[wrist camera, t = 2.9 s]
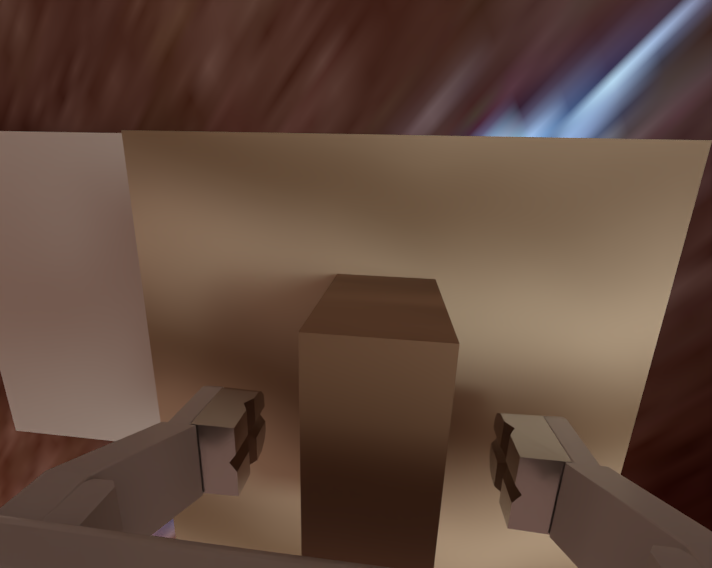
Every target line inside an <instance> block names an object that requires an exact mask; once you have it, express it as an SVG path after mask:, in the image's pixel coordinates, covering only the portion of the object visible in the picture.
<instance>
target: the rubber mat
mask: <svg viewBox="0 0 712 568" xmlns="http://www.w3.org/2000/svg"><path fill="white" fill-rule="evenodd" d="M0 371H1V375H2V379H3V383H4V387H5V391H6V394H7V398H8V402H9V406H10V410H11V413H12V417H13V421H14V425H15V429H16V431H25V432H34V433H44V434H53V435H62V436H71V437H81V438H90V439H99V440H109V441H117V440H120V439H122V438H125V437H127V436H129V435H132V434H134V433H136V432H139V431H141V430H143V429H146V428H148V427H151V426H153V425H155V424H158V423H160V414H159V407H158V400H157V392H156V385H155V377H154V370H153V363H152V355H151V348H150V340H149V333H148V325H147V318H146V311H145V303H144V296H143V288H142V281H141V273H140V266H139V259H138V251H137V244H136V236H135V229H134V222H133V214H132V207H131V199H130V192H129V184H128V177H127V170H126V162H125V155H124V147H123V140H122V133H83V132H23V131H0Z"/></svg>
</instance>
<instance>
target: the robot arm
mask: <svg viewBox="0 0 712 568" xmlns="http://www.w3.org/2000/svg"><path fill="white" fill-rule="evenodd" d="M264 407H265V403H264V394H263V393H262V391H256V390H247V389H238V388H229V387H220V386H203V387H202V388H201V389H200V390H199V391H198V392H197V393H196V394H195V395H194V396H193V397H192V398H191V399H190V400H189V401H188V402H187V403H186V404H185V405H184V406H183V407H182V408H181V409H180V410H179V411H178V412H177V413H176V414H175V416H174V417H173V418H172V419H171V420H170V421H169V422H160V423H158V424H155V425H153V426H151V427H148V428H146V429H143V430H141V431H139V432H136V433H134V434H132V435H129V436H127V437H125V438H122V439H120V440H117V441H115V442H113V443H110V444H108V445H106V446H103V447H101V448H99V449H96V450H94V451H91V452H89V453H87V454H84V455H82V456H80V457H77V458H75V459H73V460H70V461H68V462H66V463H63V464H61V465H58V466H56V467H54V468H51V469H49V470H47V471H45V472H44V473H43V474H42V475H40V476H39V477H38V478H37V479H35V480H34V481H33V482H32V483H31V484H29V485H28V486H27V487H26V488H24V489H23V490H22V491H21V492H20V493H18V494H17V495H16V496H15V497H13V498H12V499H11V500H10V501H8V502H7V503H6V504H5V505H4V506H2V507H1V508H0V568H390V567H383V566H375V565H368V564H360V563H353V562H345V561H338V560H330V559H322V558H315V557H307V556H300V555H292V554H285V553H277V552H270V551H262V550H255V549H247V548H240V547H232V546H225V545H217V544H210V543H203V542H195V541H188V540H180V539H173V538H165V537H158V536H151V535H152V534H153V533H155V532H156V531H157V530H158V529H160V528H161V527H162V526H164V525H165V524H166V523H168V522H169V521H170V520H171V519H173V518H174V517H175V516H177V515H178V514H179V513H180V512H182V511H183V510H184V509H186V508H187V507H188V506H190V505H191V504H192V503H193V502H195V501H196V500H197V499H199V498H200V497H201V496H202V495H203V493H208V494H219V495H231V496H239V495H240V493H241V491H242V489H243V487H244V485H245V483H246V481H247V479H248V477H249V475H250V464H252V463H253V462H255V461H257V460H258V458H259V456H260V453H261V451H262V448H263V444H264V440H265V432H266V424H265V420H264V419H263V418H262V416H261V415H260V413H261V412H262V410H263V408H264ZM493 428H494V431H495V434H496V436H497V438H496V439H495V440H494V441H493V442H492V443H491V446H490V455H489V459H490V472H491V477H492V481H493V484H494V486H495V487H496V488H497V489H498V490H499V491H500V492H501V493H500V499H499V503H500V507H501V510H502V513H503V516H504V519H505V522H506V525H507V528H508V529H515V530H521V531H528V532H535V533H542V534H548V535H549V537H550V538H551V539H552V540H553V541H554V542H555V543H556V544H557V546H558V547H559V548H560V549H561V550H562V551H563V552H564V553H565V554H566V555H567V556H568V557H569V559H570V560H571V561H572V562H573V563H574V564H575V565H576V566H577V567H578V568H712V531H710V530H709V529H707V528H705V527H704V526H702V525H701V524H699V523H697V522H696V521H694V520H692V519H691V518H689V517H688V516H686V515H684V514H683V513H681V512H680V511H678V510H676V509H675V508H673V507H672V506H670V505H668V504H667V503H665V502H664V501H662V500H660V499H659V498H657V497H656V496H654V495H652V494H651V493H649V492H648V491H646V490H644V489H643V488H641V487H640V486H638V485H636V484H635V483H633V482H632V481H630V480H628V479H627V478H625V477H624V476H622V475H620V474H619V473H617V472H616V471H614V470H612V469H611V468H609V467H607V466H600V465H599V463H598V462H597V461H596V459H595V458H594V457H593V455H592V454H591V452H590V451H589V450H588V448H587V447H586V445H585V444H584V443H583V441H582V440H581V438H580V437H579V436H578V434H577V433H576V431H575V430H574V429H573V427H572V426H571V424H570V423H569V422H568V420H567V419H565V418H564V417H558V416H536V415H521V414H507V413H497V414H496V417H495V420H494V426H493Z"/></svg>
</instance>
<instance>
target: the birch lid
mask: <svg viewBox="0 0 712 568" xmlns="http://www.w3.org/2000/svg"><path fill="white" fill-rule="evenodd" d="M121 132H122V140H123V147H124V155H125V162H126V170H127V177H128V184H129V192H130V199H131V207H132V214H133V222H134V229H135V236H136V244H137V251H138V259H139V266H140V273H141V281H142V288H143V296H144V303H145V311H146V318H147V325H148V333H149V340H150V348H151V355H152V363H153V370H154V377H155V385H156V392H157V400H158V407H159V414H160V422H169V421H170V420H171V419H172V418H173V417H174V416H175V414H176V413H177V412H178V411H179V410H180V409H181V408H182V407H183V406H184V405H185V404H186V403H187V402H188V401H189V400H190V399H191V398H192V397H193V396H194V395H195V394H196V393H197V392H198V391H199V390H200V389H201V388H202V387H203V386H220V387H229V388H238V389H247V390H256V391H262V393H263V394H264V403H265V407H264V408H263V410H262V412H261V413H260V415H261V416H262V418H263V419H264V420H265V424H266V432H265V440H264V444H263V448H262V451H261V453H260V456H259V458H258V460H257V461H255V462H253V463H252V464H250V475H249V477H248V479H247V481H246V483H245V485H244V487H243V489H242V491H241V493H240V495H239V496H231V495H219V494H208V493H203V495H202V496H201V497H200V498H199V499H197V500H196V501H195V502H193V503H192V504H191V505H190V506H188V507H187V508H186V509H184V510H183V511H182V512H180V513H179V514H178V515H177V516H175V517H174V526H175V533H176V539H180V540H188V541H195V542H203V543H210V544H217V545H225V546H232V547H240V548H247V549H255V550H262V551H270V552H277V553H285V554H292V555H300V556H307V557H315V558H322V559H330V560H338V561H345V562H353V563H360V564H368V565H375V566H383V567H390V568H578V567H577V566H576V565H575V564H574V563H573V562H572V561H571V560H570V559H569V557H568V556H567V555H566V554H565V553H564V552H563V551H562V550H561V549H560V548H559V547H558V546H557V544H556V543H555V542H554V541H553V540H552V539H551V538H550V537H549V535H548V534H542V533H535V532H528V531H521V530H515V529H508V528H507V525H506V522H505V519H504V516H503V513H502V510H501V507H500V503H499V499H500V493H501V492H500V491H499V490H498V489H497V488H496V487H495V486H494V484H493V481H492V477H491V472H490V459H489V455H490V446H491V443H492V442H493V441H494V440H495V439H496V438H497V436H496V434H495V431H494V428H493V426H494V420H495V417H496V414H497V413H507V414H521V415H536V416H558V417H564V418H565V419H567V420H568V422H569V423H570V424H571V426H572V427H573V429H574V430H575V431H576V433H577V434H578V436H579V437H580V438H581V440H582V441H583V443H584V444H585V445H586V447H587V448H588V450H589V451H590V452H591V454H592V455H593V457H594V458H595V459H596V461H597V462H598V463H599V465H600V466H607V467H609V468H611V469H612V470H614V471H616V472H617V473H619V474H620V475H621V471H622V467H623V464H624V460H625V456H626V453H627V449H628V445H629V442H630V438H631V434H632V431H633V427H634V423H635V420H636V416H637V412H638V409H639V405H640V401H641V398H642V394H643V391H644V387H645V383H646V380H647V376H648V372H649V369H650V365H651V361H652V358H653V354H654V350H655V347H656V343H657V339H658V336H659V332H660V328H661V325H662V321H663V317H664V314H665V310H666V307H667V303H668V299H669V296H670V292H671V288H672V285H673V281H674V277H675V274H676V270H677V266H678V263H679V259H680V255H681V252H682V248H683V244H684V241H685V237H686V233H687V230H688V226H689V223H690V219H691V215H692V212H693V208H694V204H695V201H696V197H697V193H698V190H699V186H700V182H701V179H702V175H703V171H704V168H705V164H706V160H707V157H708V153H709V149H710V146H711V142H712V140H657V139H600V138H543V137H486V136H428V135H371V134H314V133H257V132H200V131H143V130H121Z"/></svg>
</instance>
